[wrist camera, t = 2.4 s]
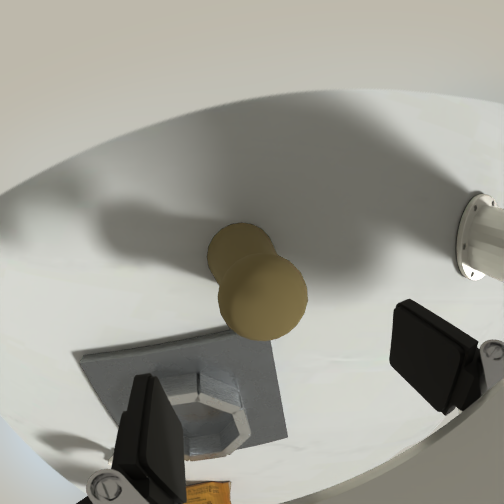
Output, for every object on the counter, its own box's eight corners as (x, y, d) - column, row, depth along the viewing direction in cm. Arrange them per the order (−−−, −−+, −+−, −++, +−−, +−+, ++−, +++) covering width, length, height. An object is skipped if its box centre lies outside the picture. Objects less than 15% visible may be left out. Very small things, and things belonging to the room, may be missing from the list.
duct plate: (264, 321, 27) (276, 345, 23) (285, 429, 32) (294, 453, 28) (83, 355, 25) (70, 379, 20) (145, 452, 30) (143, 476, 25)
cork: (233, 300, 26) (254, 374, 15) (193, 249, 24) (187, 301, 14) (286, 262, 26) (339, 315, 15) (249, 208, 24) (287, 230, 14)
